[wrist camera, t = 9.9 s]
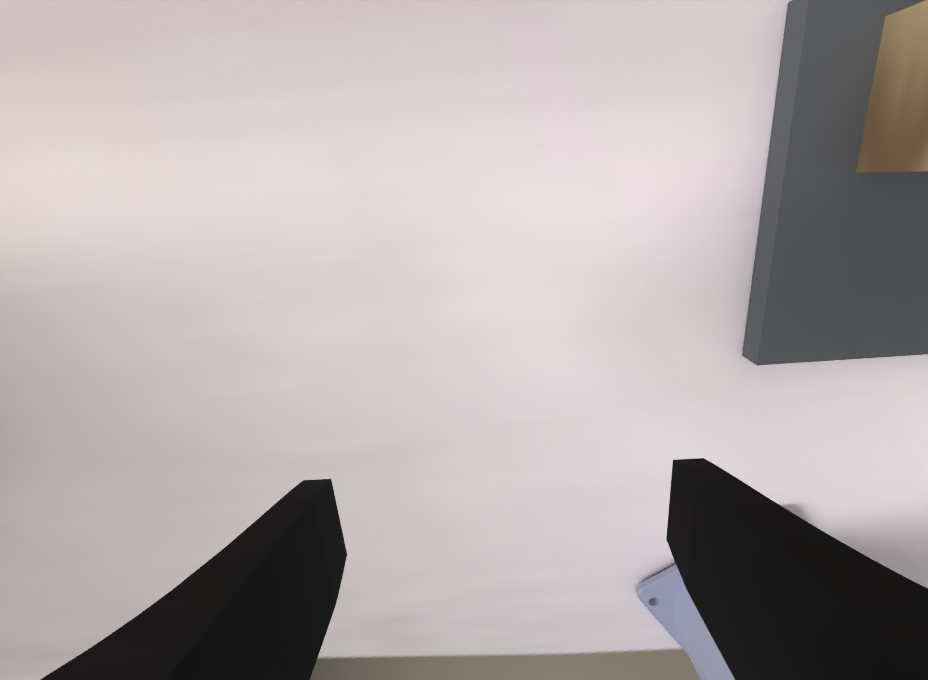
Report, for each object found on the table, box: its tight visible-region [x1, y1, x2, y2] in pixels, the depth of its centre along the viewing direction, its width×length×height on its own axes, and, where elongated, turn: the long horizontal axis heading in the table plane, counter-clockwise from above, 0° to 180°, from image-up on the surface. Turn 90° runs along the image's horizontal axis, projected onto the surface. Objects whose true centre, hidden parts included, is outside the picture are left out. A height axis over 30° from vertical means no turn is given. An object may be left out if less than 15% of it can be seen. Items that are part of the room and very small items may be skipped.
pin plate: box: [742, 0, 928, 365], centre depth 16 cm, size 12×9×1 cm
